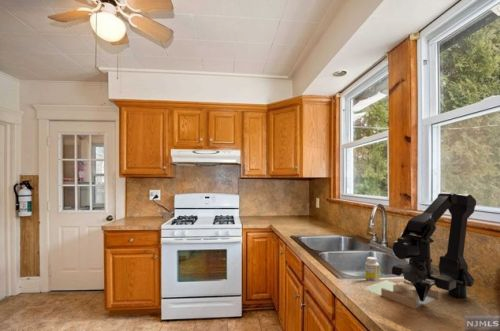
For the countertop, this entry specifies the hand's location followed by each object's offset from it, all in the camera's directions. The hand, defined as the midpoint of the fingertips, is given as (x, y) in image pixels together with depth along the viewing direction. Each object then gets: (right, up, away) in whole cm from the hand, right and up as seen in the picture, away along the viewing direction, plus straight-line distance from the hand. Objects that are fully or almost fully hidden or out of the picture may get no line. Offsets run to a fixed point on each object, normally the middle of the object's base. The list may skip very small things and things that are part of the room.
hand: (422, 301), depth 93 cm
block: (-3, -1, +5) cm, 5 cm away
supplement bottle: (-6, -4, +24) cm, 25 cm away
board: (-3, -3, +9) cm, 10 cm away
